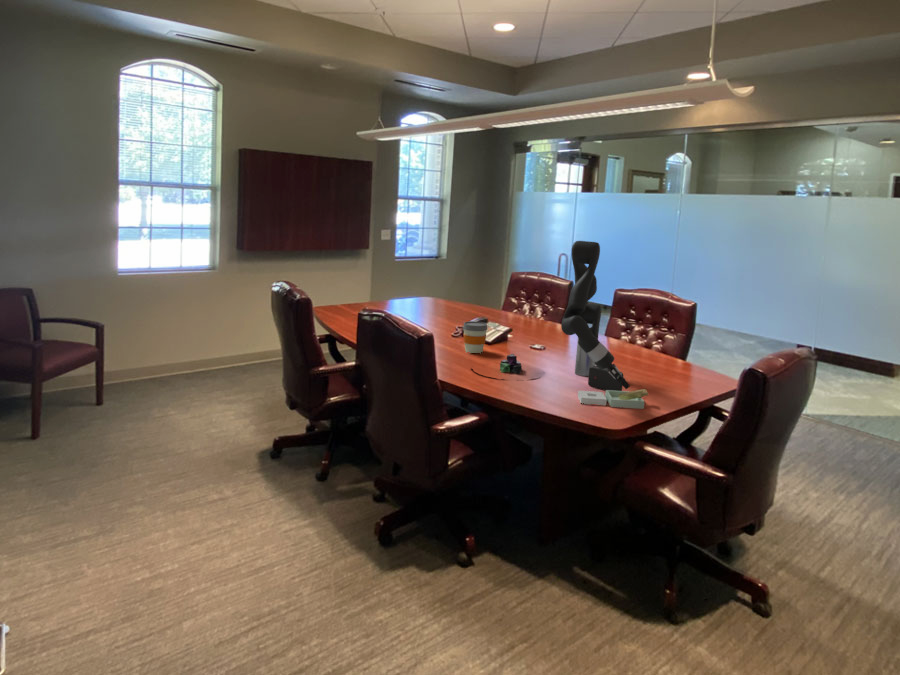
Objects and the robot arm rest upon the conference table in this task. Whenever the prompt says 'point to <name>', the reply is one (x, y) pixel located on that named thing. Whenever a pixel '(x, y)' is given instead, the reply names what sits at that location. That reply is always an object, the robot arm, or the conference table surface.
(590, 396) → the cover plate
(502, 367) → the mineral sample
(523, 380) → the conference table surface
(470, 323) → the reusable coffee cup
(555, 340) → the conference table surface
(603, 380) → the leaning round-cornered charcoal block
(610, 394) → the tray
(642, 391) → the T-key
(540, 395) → the conference table surface
